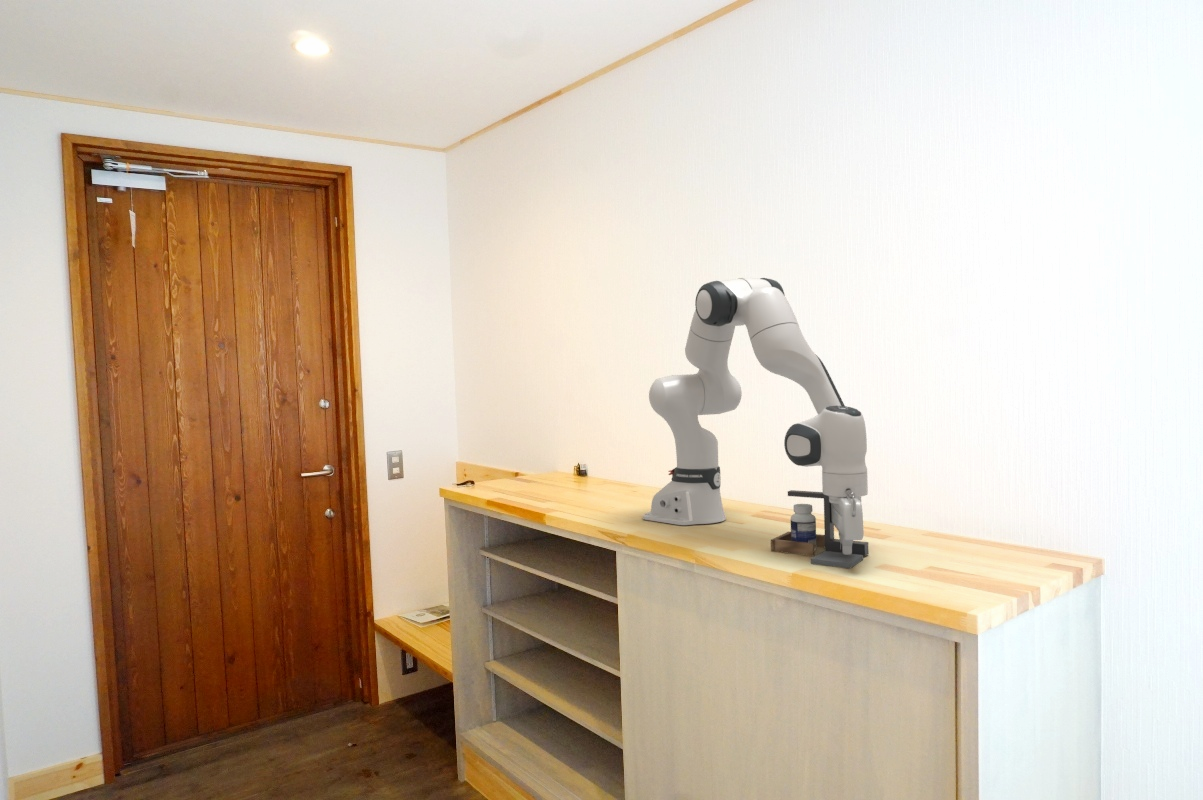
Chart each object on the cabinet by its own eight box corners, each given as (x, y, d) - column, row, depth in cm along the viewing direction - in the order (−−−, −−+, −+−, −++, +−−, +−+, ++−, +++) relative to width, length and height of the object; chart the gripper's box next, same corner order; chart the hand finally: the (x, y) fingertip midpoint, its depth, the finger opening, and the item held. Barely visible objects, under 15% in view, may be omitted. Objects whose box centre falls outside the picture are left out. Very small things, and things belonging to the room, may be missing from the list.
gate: (788, 548, 172) (787, 491, 172) (792, 545, 174) (791, 490, 174) (864, 556, 162) (863, 496, 162) (868, 554, 164) (867, 494, 164)
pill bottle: (790, 546, 175) (789, 503, 174) (815, 546, 174) (814, 503, 173) (792, 552, 169) (791, 507, 169) (817, 552, 168) (816, 507, 168)
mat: (810, 563, 159) (810, 558, 159) (824, 555, 165) (824, 550, 165) (850, 568, 154) (850, 563, 154) (863, 559, 160) (862, 555, 160)
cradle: (771, 551, 171) (770, 539, 171) (788, 542, 179) (788, 531, 179) (813, 556, 165) (812, 544, 165) (829, 546, 173) (829, 535, 173)
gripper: (871, 493, 149) (872, 565, 149) (852, 478, 169) (853, 542, 169) (836, 493, 150) (838, 565, 150) (822, 479, 170) (823, 542, 170)
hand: (846, 552), depth 160 cm, fingers closed
